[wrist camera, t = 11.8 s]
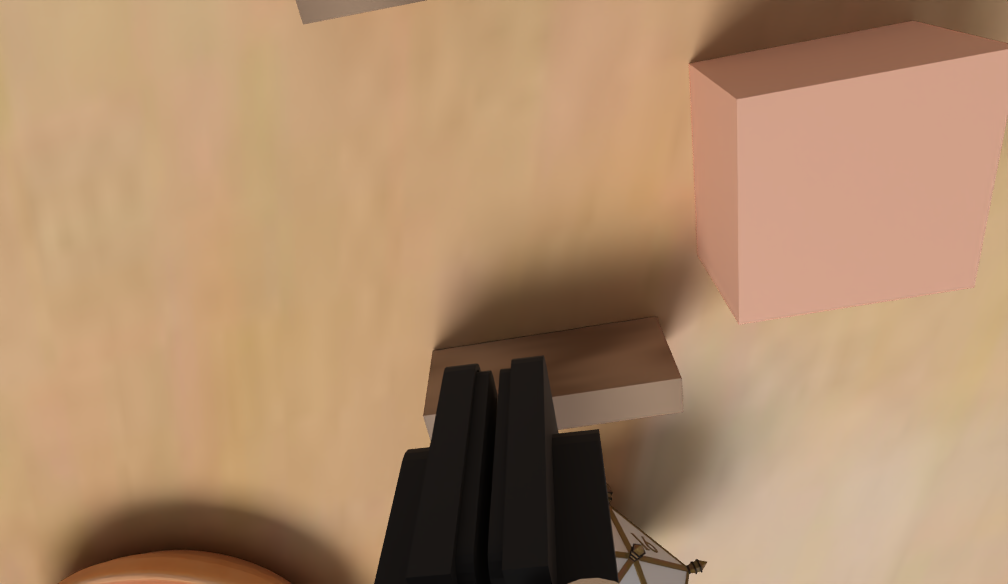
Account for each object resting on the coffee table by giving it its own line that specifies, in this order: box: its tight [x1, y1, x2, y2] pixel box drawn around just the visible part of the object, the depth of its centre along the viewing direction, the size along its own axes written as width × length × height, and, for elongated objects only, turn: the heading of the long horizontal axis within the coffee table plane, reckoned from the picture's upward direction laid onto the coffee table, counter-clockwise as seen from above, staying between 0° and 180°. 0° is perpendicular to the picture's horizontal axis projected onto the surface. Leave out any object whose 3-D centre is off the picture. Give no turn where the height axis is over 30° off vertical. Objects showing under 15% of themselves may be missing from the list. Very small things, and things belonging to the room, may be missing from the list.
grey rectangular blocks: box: [296, 0, 683, 440], centre depth 21 cm, size 9×16×4 cm, turn 10°
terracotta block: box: [689, 21, 1008, 325], centre depth 21 cm, size 7×7×5 cm
